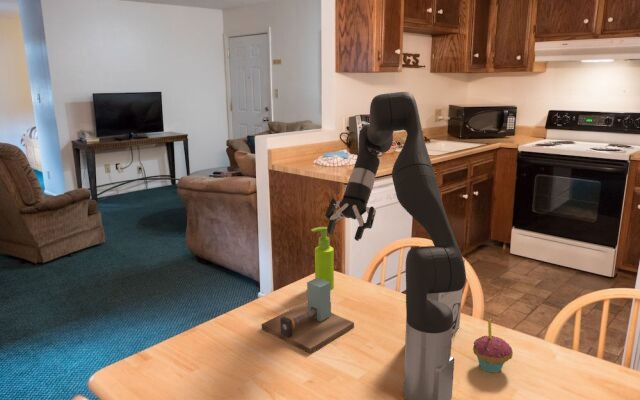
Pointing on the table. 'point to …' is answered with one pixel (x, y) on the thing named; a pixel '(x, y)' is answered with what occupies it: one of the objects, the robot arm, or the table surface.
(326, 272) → the soap dispenser
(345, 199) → the robot arm
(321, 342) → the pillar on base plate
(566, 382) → the table surface
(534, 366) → the table surface
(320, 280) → the tall pale blue block
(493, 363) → the cupcake
